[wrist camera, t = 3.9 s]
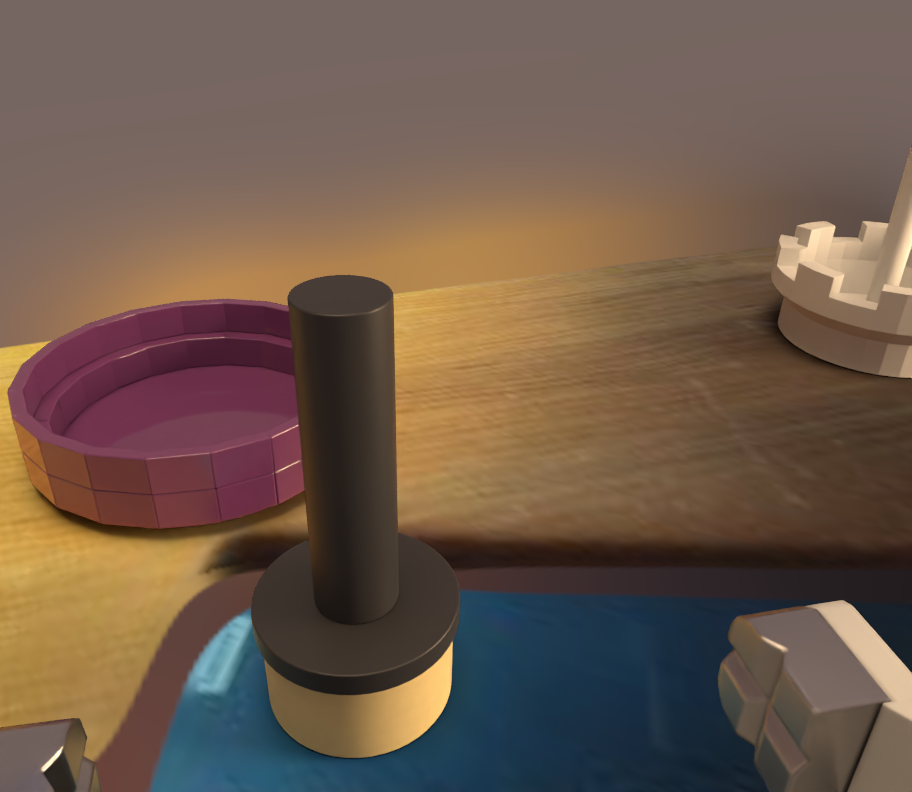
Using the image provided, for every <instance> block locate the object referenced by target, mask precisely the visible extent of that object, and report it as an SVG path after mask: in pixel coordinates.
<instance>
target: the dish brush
mask: <svg viewBox="0 0 912 792" xmlns="http://www.w3.org/2000/svg"><path fill="white" fill-rule="evenodd" d="M288 309H289V321H290V332H291V343H292V354H293V366H294V377H295V388H296V399H297V411H298V422H299V433H300V444H301V456H302V467H303V478H304V489H305V501H306V512H307V523H308V534H309V540H306V541H304V542H302V543H300V544H298V545H296V546H294V547H293V548H291V549H289V550H288V551H286V552H285V553H284V554H282V555H281V556H280V557H279V558H277V559H276V560H275V561H274V562H273V563H272V564H271V565H270V566H269V567H268V568H267V570H266V571H265V572H264V574H263V575H262V577H261V578H260V580H259V582H258V584H257V586H256V588H255V590H254V594H253V597H252V603H251V617H252V625H253V632H254V637H255V641H256V644H257V647H258V649H259V651H260V653H261V655H262V656H263V658H264V661H265V669H266V676H267V683H268V691H269V698H270V703H271V707H272V710H273V713H274V715H275V717H276V719H277V721H278V722H279V724H280V725H281V726H282V728H283V729H284V730H285V731H286V732H287V733H288V734H289V735H290V736H291V737H292V738H293V739H295V740H296V741H297V742H299V743H300V744H302V745H304V746H305V747H307V748H309V749H311V750H314V751H316V752H319V753H322V754H326V755H330V756H335V757H343V758H363V757H372V756H376V755H381V754H385V753H388V752H391V751H394V750H396V749H399V748H401V747H403V746H405V745H407V744H409V743H410V742H412V741H413V740H415V739H417V738H418V737H419V736H421V735H422V734H423V733H424V732H425V731H427V730H428V729H429V728H430V727H431V725H432V724H433V723H434V722H435V721H436V720H437V718H438V717H439V715H440V714H441V713H442V711H443V709H444V707H445V705H446V703H447V700H448V697H449V694H450V689H451V681H452V642H453V639H454V637H455V634H456V632H457V629H458V624H459V618H460V590H459V585H458V581H457V578H456V576H455V573H454V572H453V570H452V568H451V567H450V565H449V564H448V563H447V561H446V560H445V559H444V558H443V557H442V556H441V555H440V554H439V553H438V552H437V551H436V550H434V549H433V548H431V547H430V546H428V545H427V544H425V543H423V542H421V541H419V540H417V539H415V538H412V537H410V536H407V535H404V534H401V533H398V516H397V464H396V411H395V358H394V306H393V292H392V290H391V289H390V287H389V286H387V285H386V284H384V283H383V282H381V281H378V280H375V279H372V278H368V277H362V276H353V275H352V276H351V275H335V276H325V277H320V278H315V279H311V280H308V281H305V282H303V283H301V284H299V285H297V286H295V287H294V288H293V289H292V290H291V291H290V292H289V295H288Z"/></svg>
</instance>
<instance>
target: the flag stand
mask: <svg viewBox="0 0 912 792" xmlns="http://www.w3.org/2000/svg"><path fill="white" fill-rule="evenodd" d="M834 230H835V226H834V225H832V224H830V223H828V222H826V221H821V222H812V223H806V224H802V225H798V226H797V227H796V232H795V236H794V237H791V236H785V235H781V236H780V239H779V243H778V247H777V251H776V256H775V260H774V265H773V269H772V273H771V278H772V282H773V284H774V285H775V287H776V288H777V289H778V291H779V292H780V293H781V294H782V295H783V297H784V298H783V302H782V306H781V310H780V314H779V318H778V326H779V329H780V331H781V332H782V334H783V335H784V336H785V337H786V338H787V339H788V340H789V341H790V342H791V343H793V344H794V345H796V346H797V347H799V348H800V349H802V350H804V351H805V352H807V353H809V354H811V355H813V356H816V357H818V358H820V359H822V360H825V361H828V362H830V363H833V364H836V365H839V366H842V367H846V368H849V369H853V370H857V371H861V372H866V373H871V374H876V375H883V376H891V377H902V378H912V146H911V150H910V153H909V156H908V160H907V163H906V166H905V170H904V173H903V177H902V180H901V183H900V187H899V190H898V194H897V197H896V200H895V204H894V207H893V210H892V214H891V217H890V221H889V224H887V223H879V222H867V221H863V222H862V225H861V229H860V232H859V236H858V238H852V237H833V234H834Z"/></svg>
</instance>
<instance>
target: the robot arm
mask: <svg viewBox="0 0 912 792" xmlns="http://www.w3.org/2000/svg"><path fill="white" fill-rule="evenodd" d="M727 638H728V639H729V641H730V643H731V644H732V646H733V647H734V649H733V650H732V651H731V652H730V653H729V654H728V656H727V657H726V658H725V659H724V660H723V661H722V662H721V666H720V671H719V676H718V686H719V693H720V701H721V703H722V706H723V709H724V711H725V714H726V717H727V719H728V720H729V722H730V724H731V726H732V727H733V729H734V731H735V733H736V734H737V735H739V736H740V737H742V738H743V739H745V740H746V741H748V742H749V743H751V744H752V745H754V746H756V748H755V756H754V765H755V767H756V769H757V770H758V772H759V774H760V775H761V777H762V779H763V780H764V782H765V784H766V785H767V787H768V789H769V790H770V792H912V673H911V672H910V671H909V670H908V668H907V667H906V666H905V665H904V664H903V663H902V662H901V660H900V659H899V658H898V657H897V656H896V655H895V654H894V652H893V651H892V650H891V649H890V648H889V647H888V646H887V644H886V643H885V642H884V641H883V640H882V639H881V638H880V636H879V635H878V634H877V633H876V632H875V631H874V630H873V628H872V627H871V626H870V625H869V624H868V623H867V622H866V620H865V619H864V618H863V617H862V616H861V615H860V614H859V612H858V611H857V610H856V609H855V608H854V607H853V606H852V605H850V604H848V603H847V602H845V601H843V600H841V601H834V602H828V603H821V604H815V605H808V606H806V607H804V606H798V607H792V608H786V609H780V610H774V611H768V612H762V613H756V614H750V615H744V616H738V617H737V618H736V619H735V620H734V621H733V622H732V623H731V626H730V630H729V634H728V637H727ZM86 740H87V736H86V733H85V731H84V728H83V725H82V723H81V720H80V719H79V718H71V719H63V720H55V721H47V722H39V723H31V724H23V725H16V726H8V727H0V792H101V785H100V778H99V774H98V771H97V768H96V764H95V762H93V761H91V760H89V759H88V758H86V757H84V756H83V755H84V750H85V745H86Z"/></svg>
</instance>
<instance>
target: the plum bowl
mask: <svg viewBox="0 0 912 792" xmlns="http://www.w3.org/2000/svg"><path fill="white" fill-rule="evenodd" d="M7 394H8V399H9V405H10V410H11V415H12V419H13V423H14V426H15V430H16V433H17V436H18V440H19V443H20V447H21V449H22V453H23V457H24V460H25V464H26V467H27V470H28V474H29V477H30V481H31V483H32V484H33V485H34V486H35V487H36V488H37V489H38V490H39V491H40V492H41V493H42V494H43V495H44V496H46V497H47V498H48V499H49V500H50V501H51V502H52V503H53V504H54V505H55V506H56V507H58V508H60V509H63V510H66V511H68V512H71V513H74V514H77V515H79V516H82V517H85V518H88V519H90V520H93V521H96V522H98V523H102V524H109V525H120V526H131V527H142V528H153V529H159V528H160V529H163V528H178V527H193V526H200V525H207V524H214V523H219V522H223V521H228V520H232V519H237V518H240V517H243V516H247V515H250V514H253V513H256V512H259V511H262V510H264V509H267V508H269V507H273V506H276V505H277V504H281V503H283V502H284V501H286V500H288V499H290V498H292V497H294V496H296V495H297V494H299V493H301V492H303V491H305V489H304V478H303V467H302V456H301V444H300V433H299V422H298V411H297V399H296V388H295V377H294V366H293V354H292V343H291V332H290V321H289V309H288V306H286V305H281V304H277V303H271V302H267V301H252V300H236V299H215V300H199V301H198V300H197V301H181V302H175V303H169V304H163V305H157V306H152V307H146V308H141V309H135V310H130V311H127V312H124V313H120V314H117V315H114V316H111V317H108V318H104V319H101V320H98V321H95V322H91V323H89V324H86V325H84V326H82V327H80V328H78V329H76V330H74V331H72V332H70V333H68V334H66V335H64V336H62V337H60V338H58V339H56V340H54V341H52V342H50V343H48V344H47V345H46V346H44V347H43V348H42V349H41V350H40V351H38V352H37V353H36V354H35V355H33V356H32V357H31V358H30V359H28V360H27V361H26V362H25V363H23V364H22V366H21V367H20V369H19V371H18V373H17V375H16V376H15V378H14V380H13V382H12V384H11V386H10V387H9V389H8V392H7Z"/></svg>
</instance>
